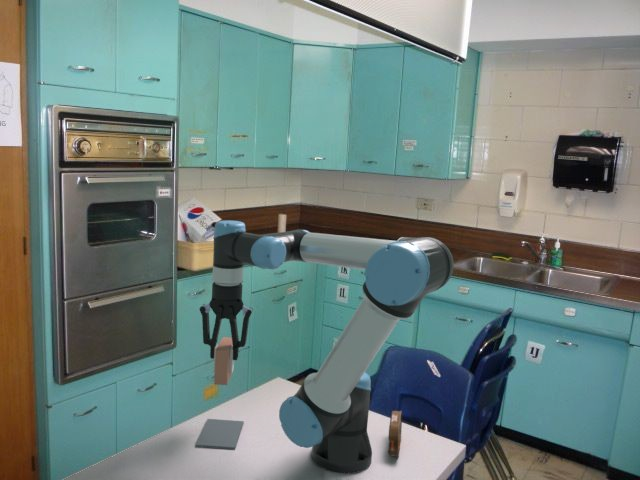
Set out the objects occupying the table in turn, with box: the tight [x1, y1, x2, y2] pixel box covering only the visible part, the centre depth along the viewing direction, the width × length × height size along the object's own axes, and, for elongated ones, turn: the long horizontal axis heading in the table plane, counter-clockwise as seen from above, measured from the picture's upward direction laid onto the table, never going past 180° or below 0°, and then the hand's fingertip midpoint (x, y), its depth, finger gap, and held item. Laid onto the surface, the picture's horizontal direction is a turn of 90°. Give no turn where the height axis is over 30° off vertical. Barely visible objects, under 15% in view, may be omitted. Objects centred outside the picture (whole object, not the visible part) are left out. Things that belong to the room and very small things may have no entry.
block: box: [213, 336, 234, 386], centre depth 148 cm, size 3×9×10 cm
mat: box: [195, 418, 245, 451], centre depth 152 cm, size 10×14×1 cm
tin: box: [388, 410, 403, 458], centre depth 151 cm, size 15×3×8 cm, turn 168°
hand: (223, 370), depth 147 cm, fingers closed on block, 3 cm apart
